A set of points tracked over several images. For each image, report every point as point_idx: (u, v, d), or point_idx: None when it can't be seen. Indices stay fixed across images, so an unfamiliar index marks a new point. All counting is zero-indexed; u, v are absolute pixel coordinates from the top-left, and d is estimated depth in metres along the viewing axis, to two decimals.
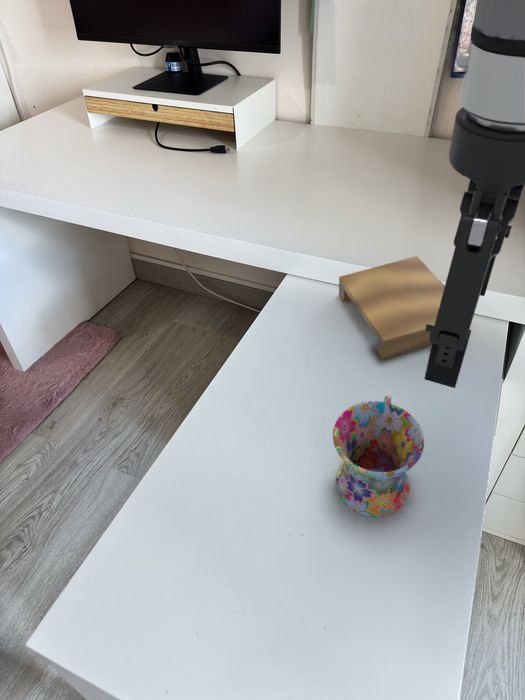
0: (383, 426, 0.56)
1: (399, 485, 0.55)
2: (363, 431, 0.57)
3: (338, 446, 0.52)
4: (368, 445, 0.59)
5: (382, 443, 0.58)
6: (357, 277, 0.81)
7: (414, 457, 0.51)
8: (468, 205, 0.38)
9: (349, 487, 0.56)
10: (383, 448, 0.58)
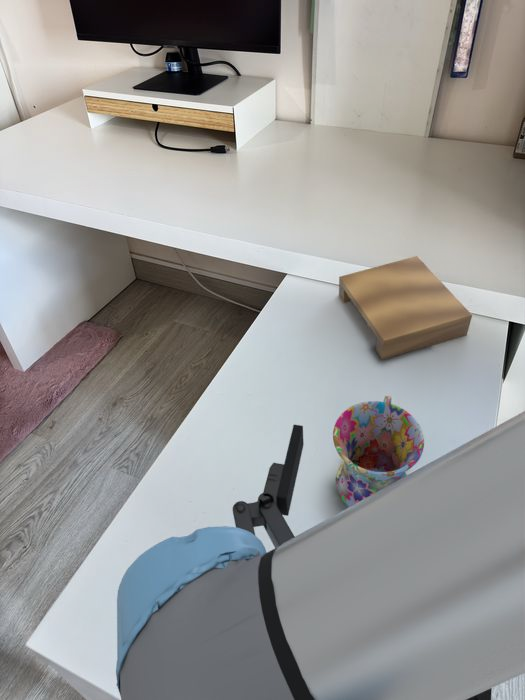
0: (383, 426, 0.56)
1: None
2: (363, 431, 0.57)
3: (338, 446, 0.52)
4: (368, 445, 0.59)
5: (382, 443, 0.58)
6: (357, 277, 0.81)
7: (414, 457, 0.51)
8: None
9: (349, 487, 0.56)
10: (383, 448, 0.58)
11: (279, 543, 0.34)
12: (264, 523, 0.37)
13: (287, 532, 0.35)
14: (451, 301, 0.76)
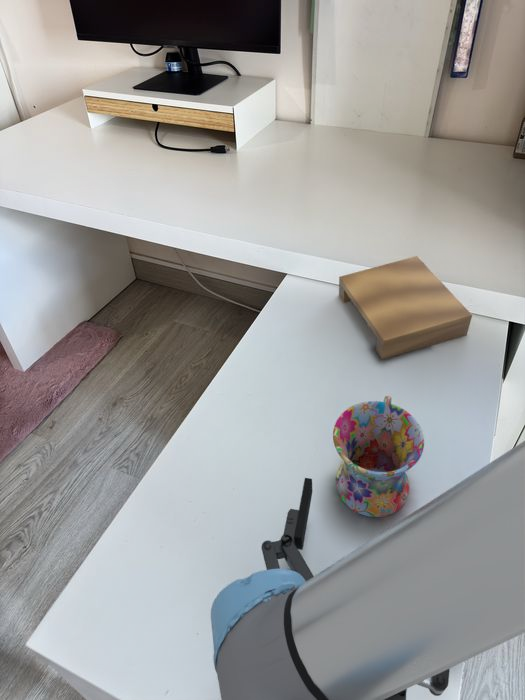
0: (383, 426, 0.56)
1: (399, 485, 0.55)
2: (363, 431, 0.57)
3: (338, 446, 0.52)
4: (368, 445, 0.59)
5: (382, 443, 0.58)
6: (357, 277, 0.81)
7: (414, 457, 0.51)
8: None
9: (349, 487, 0.56)
10: (383, 448, 0.58)
11: (297, 573, 0.47)
12: (285, 556, 0.49)
13: (303, 564, 0.47)
14: (451, 301, 0.76)
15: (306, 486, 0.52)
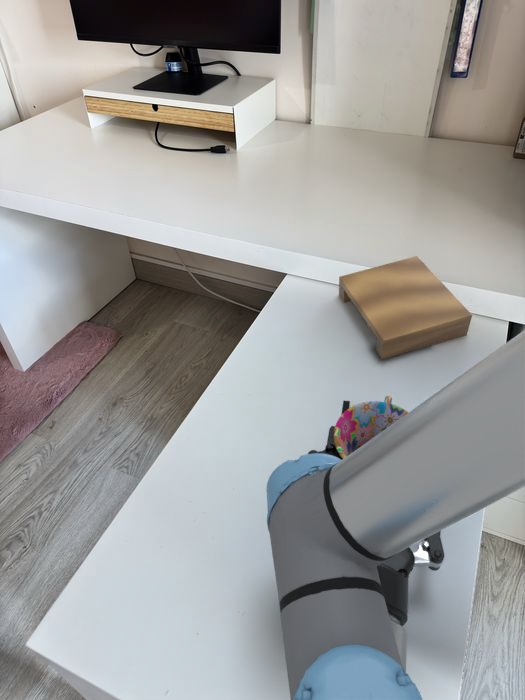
0: (384, 426, 0.56)
1: None
2: (363, 431, 0.57)
3: (339, 446, 0.52)
4: None
5: None
6: (357, 277, 0.81)
7: None
8: None
9: None
10: None
11: None
12: None
13: None
14: (451, 301, 0.76)
15: (345, 407, 0.59)
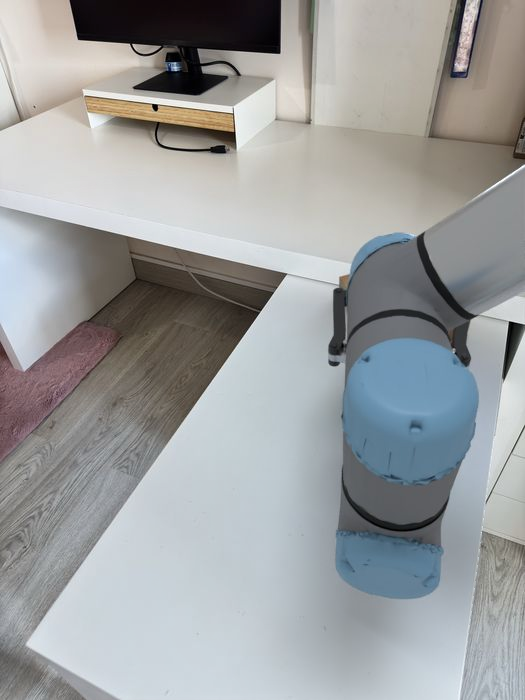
0: None
1: None
2: None
3: None
4: None
5: None
6: None
7: None
8: None
9: None
10: None
11: None
12: None
13: None
14: None
15: None
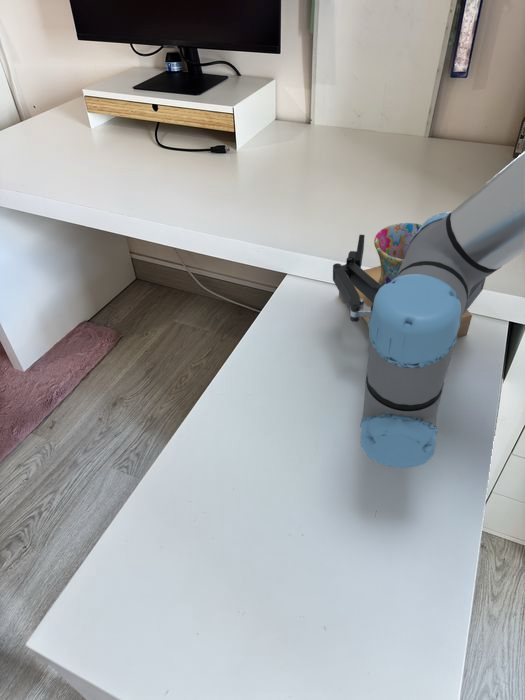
0: None
1: None
2: (395, 249, 0.74)
3: (379, 248, 0.69)
4: None
5: None
6: None
7: None
8: None
9: None
10: None
11: (359, 275, 0.69)
12: (348, 275, 0.72)
13: (363, 272, 0.69)
14: None
15: (361, 238, 0.75)
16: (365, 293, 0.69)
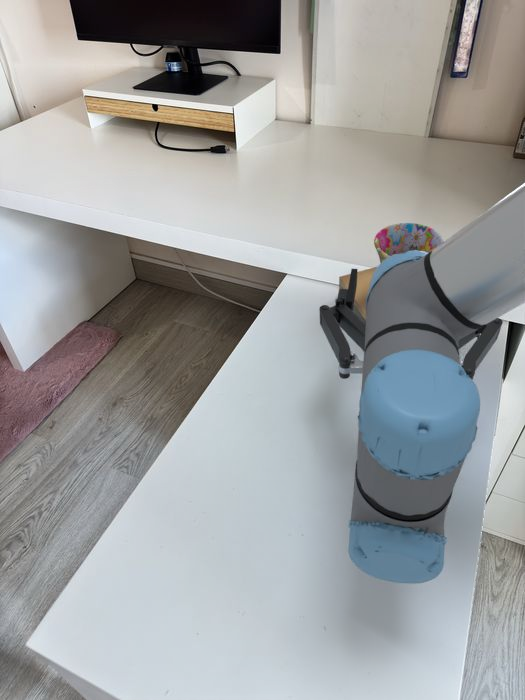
0: (411, 244, 0.73)
1: None
2: (395, 249, 0.74)
3: (379, 248, 0.69)
4: None
5: None
6: (357, 277, 0.81)
7: None
8: None
9: None
10: None
11: (350, 321, 0.58)
12: (338, 319, 0.61)
13: (355, 316, 0.58)
14: None
15: (353, 273, 0.64)
16: (357, 342, 0.58)
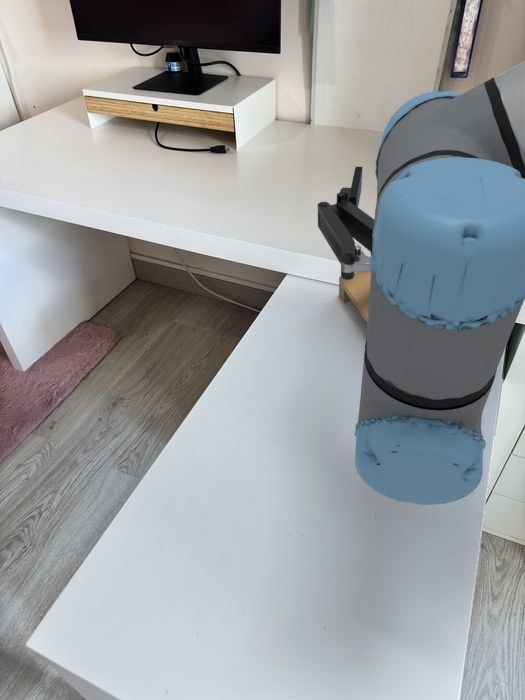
0: None
1: None
2: None
3: None
4: None
5: None
6: (357, 277, 0.81)
7: None
8: None
9: None
10: None
11: (355, 216, 0.48)
12: (339, 219, 0.51)
13: (360, 211, 0.48)
14: None
15: (357, 171, 0.54)
16: (363, 242, 0.48)
